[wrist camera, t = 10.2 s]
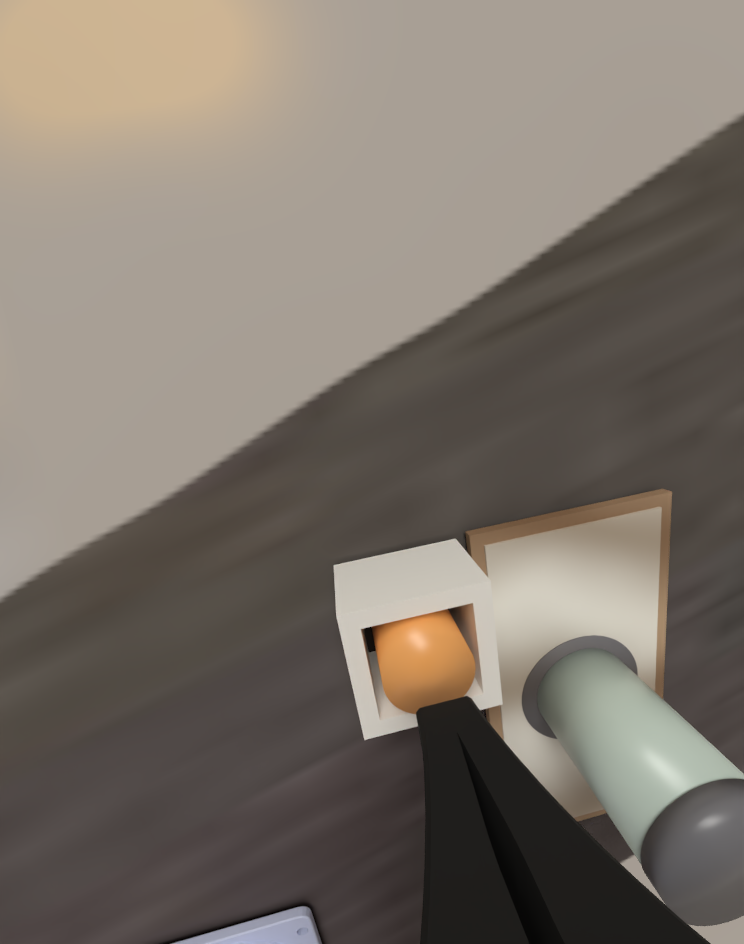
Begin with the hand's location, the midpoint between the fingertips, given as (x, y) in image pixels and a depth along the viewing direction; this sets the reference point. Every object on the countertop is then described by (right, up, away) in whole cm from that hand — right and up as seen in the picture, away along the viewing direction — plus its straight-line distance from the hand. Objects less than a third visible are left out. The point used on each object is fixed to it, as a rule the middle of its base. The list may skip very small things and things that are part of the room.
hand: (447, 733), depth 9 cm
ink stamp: (+7, -3, +6) cm, 10 cm away
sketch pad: (+7, -3, +7) cm, 10 cm away
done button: (-1, +1, +5) cm, 5 cm away
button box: (-1, +1, +5) cm, 5 cm away
